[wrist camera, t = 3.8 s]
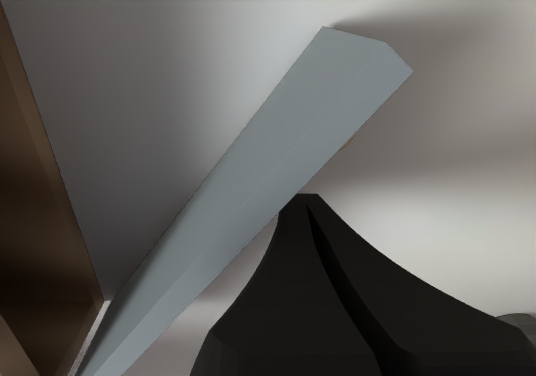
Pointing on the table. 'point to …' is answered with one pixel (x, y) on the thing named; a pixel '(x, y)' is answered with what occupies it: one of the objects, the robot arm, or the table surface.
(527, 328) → the beverage cup
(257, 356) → the robot arm
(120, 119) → the table surface
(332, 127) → the cabinet door
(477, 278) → the table surface
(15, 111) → the walnut cabinet
